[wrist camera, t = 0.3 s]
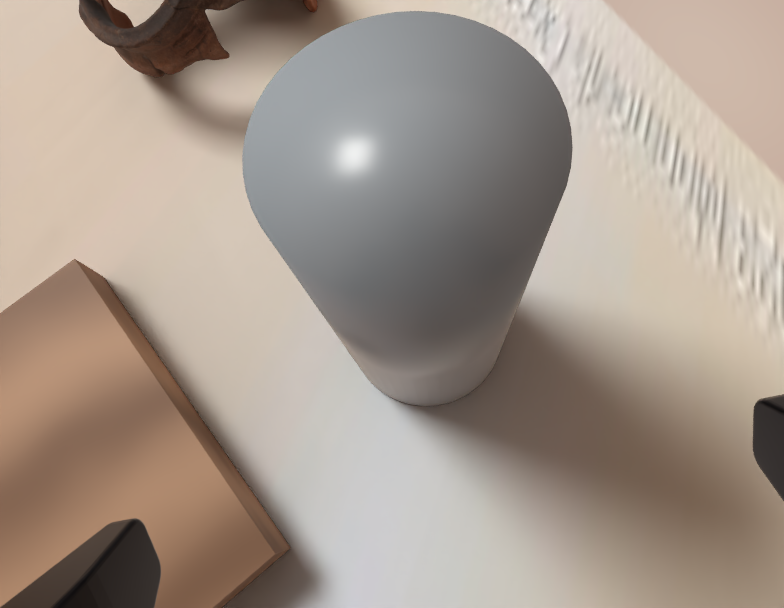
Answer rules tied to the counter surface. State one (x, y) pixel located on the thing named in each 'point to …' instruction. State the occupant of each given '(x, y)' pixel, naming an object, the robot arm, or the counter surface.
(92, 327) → the shelf board
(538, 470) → the counter surface
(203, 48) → the pottery mug
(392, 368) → the grey cylinder
